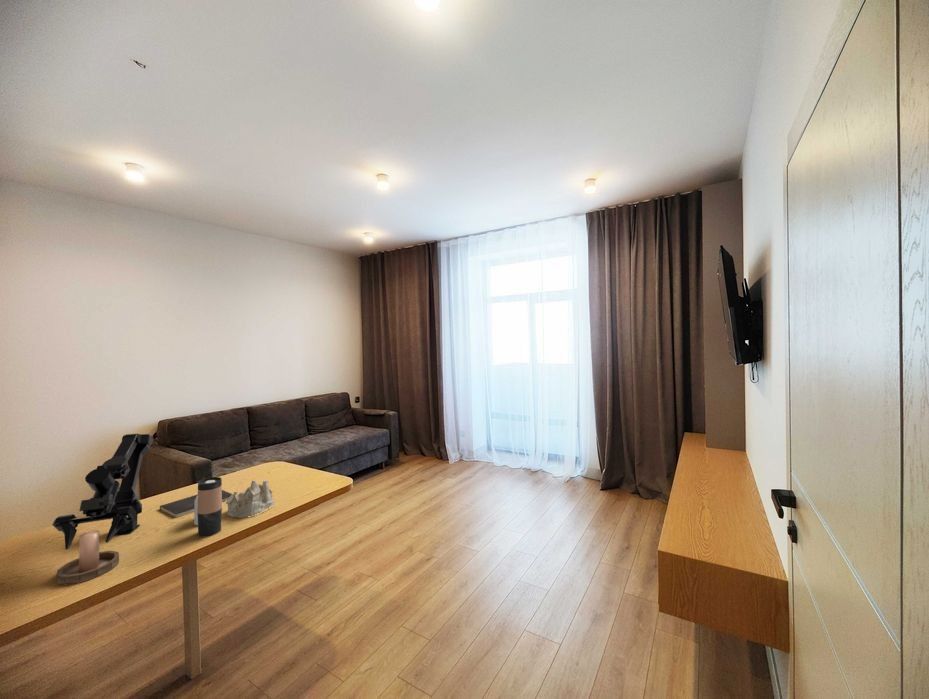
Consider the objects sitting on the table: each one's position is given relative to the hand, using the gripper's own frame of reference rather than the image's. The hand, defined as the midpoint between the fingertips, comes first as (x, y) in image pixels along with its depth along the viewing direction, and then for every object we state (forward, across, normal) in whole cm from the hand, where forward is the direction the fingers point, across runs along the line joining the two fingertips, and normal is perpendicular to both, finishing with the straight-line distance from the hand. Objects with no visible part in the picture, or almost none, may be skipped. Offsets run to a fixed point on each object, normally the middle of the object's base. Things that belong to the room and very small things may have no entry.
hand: (87, 545), depth 111 cm
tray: (+5, 0, +7) cm, 9 cm away
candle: (+5, 0, +6) cm, 8 cm away
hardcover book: (-26, +19, +40) cm, 51 cm away
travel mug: (-3, +30, +16) cm, 34 cm away
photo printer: (-12, +26, +25) cm, 38 cm away
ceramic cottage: (-14, +42, +27) cm, 52 cm away
